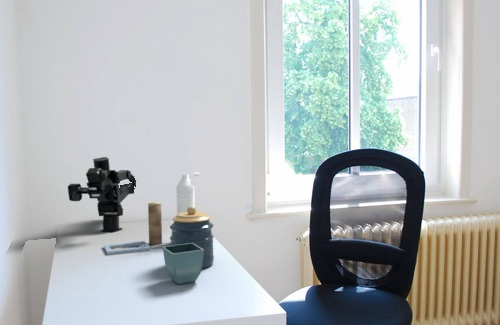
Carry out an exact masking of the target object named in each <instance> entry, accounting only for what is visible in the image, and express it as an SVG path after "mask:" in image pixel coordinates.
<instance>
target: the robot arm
mask: <svg viewBox="0 0 500 325" xmlns="http://www.w3.org/2000/svg"><path fill="white" fill-rule="evenodd" d="M85 176H86V178H87V179H86V180H87V183H86V186H87V187H86V186H85V187H82V186H81V185H82V184H80V183H70V184H69V185H68V186H67V193H68V200H69V201H70V202H80V201H81V200H82V199H83V195H88V196H89V199H96V200H97V212H98V217H102V228H101V229H100V232H108V233H114V232H118V231H120V230H123V227H120V217H121V216H124V208H123V205H122V204H121V203H122V202H123V200H125V199H126V198H127V197H128V196H129V195H134V194H135V193H134V189H135V188H134V186H135V187H136V180H135V178H134V177H135V176H134V175H133V174H132V172H131V171H130V170H129V169H126V170H125V169H124V170H123V169H120V170H118V171H117V170H114V169H110V159H109V157H107V156H102V157H98V158H93V167H90V168H88V170H87V171H86V173H85ZM122 180H129V181H130V182H132V183H129V184H124V185H120V188H119V185H118V184H119V183H120V181H122Z"/></svg>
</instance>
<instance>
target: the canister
mask: <svg viewBox="0 0 500 325" xmlns="http://www.w3.org/2000/svg"><path fill="white" fill-rule="evenodd" d="M210 220H211V216H210V215H208V214H207V213H206V212H202V211H197V209H196V207H195V206H194V207H193V206H190V207H188V209H187V212H184V213H179V214H177V213H176V215H175V216H174V217H173V218H172V221H173V223H172V224H171V225H170V226H169V228H170V230H171V235H170V237H169V238H170V239H169V240H170V246H173V245H180V244H187V243H194V244H195V245H197V246H199V247H200V248H202V249H204V253H203V263H202V269H207V268H209V267H212V265H214V260H215V255H214V234H213V230H212V229H213V228H214V224H213V223H212V222H211V221H210ZM202 269H201V270H202Z"/></svg>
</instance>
